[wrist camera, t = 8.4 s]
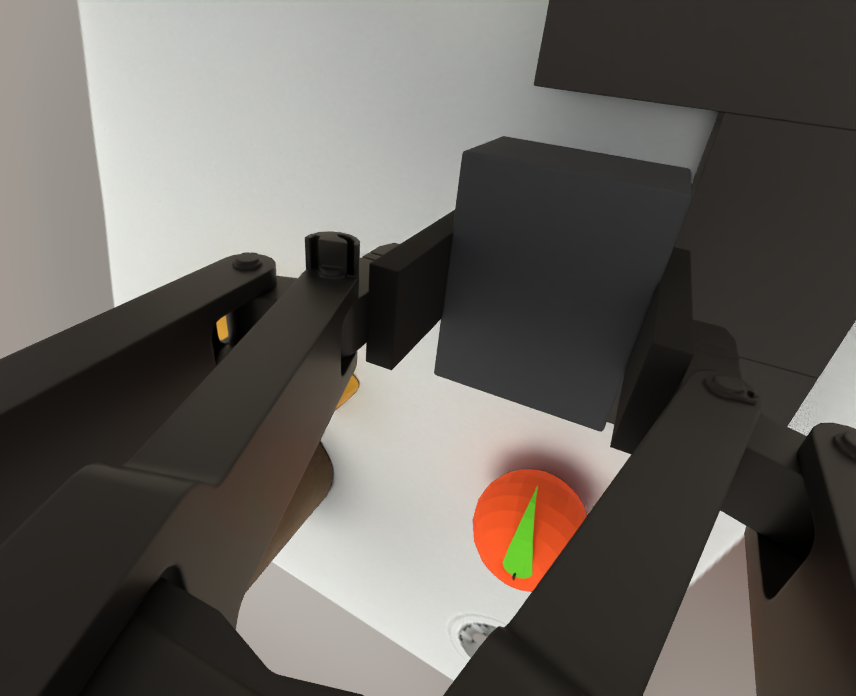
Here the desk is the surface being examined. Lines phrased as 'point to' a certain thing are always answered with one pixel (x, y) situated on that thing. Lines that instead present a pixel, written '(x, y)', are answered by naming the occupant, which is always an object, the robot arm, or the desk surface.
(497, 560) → the clementine
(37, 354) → the robot arm
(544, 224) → the dark grey rectangular block
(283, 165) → the desk surface
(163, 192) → the desk surface
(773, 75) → the black u-shaped block
